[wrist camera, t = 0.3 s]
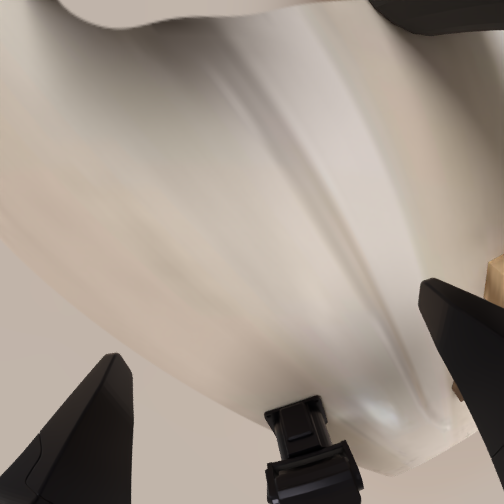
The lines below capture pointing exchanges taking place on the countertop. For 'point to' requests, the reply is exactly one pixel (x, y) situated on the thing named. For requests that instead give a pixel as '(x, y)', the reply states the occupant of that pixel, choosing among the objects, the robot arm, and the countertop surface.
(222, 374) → the countertop surface
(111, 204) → the countertop surface
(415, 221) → the countertop surface
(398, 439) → the countertop surface
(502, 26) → the vase
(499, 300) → the oak block
